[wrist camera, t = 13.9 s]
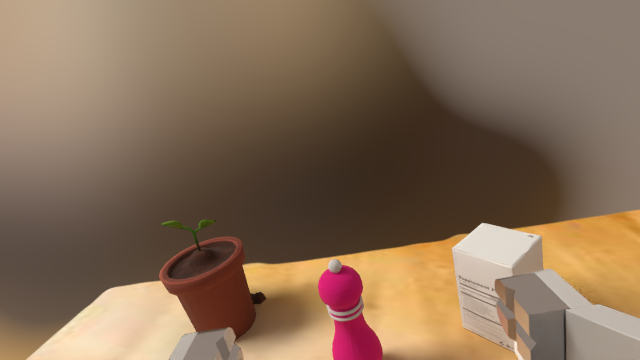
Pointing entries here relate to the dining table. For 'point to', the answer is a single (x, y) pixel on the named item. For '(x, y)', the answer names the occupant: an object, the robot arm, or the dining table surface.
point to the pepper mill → (348, 314)
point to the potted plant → (212, 283)
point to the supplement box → (491, 274)
